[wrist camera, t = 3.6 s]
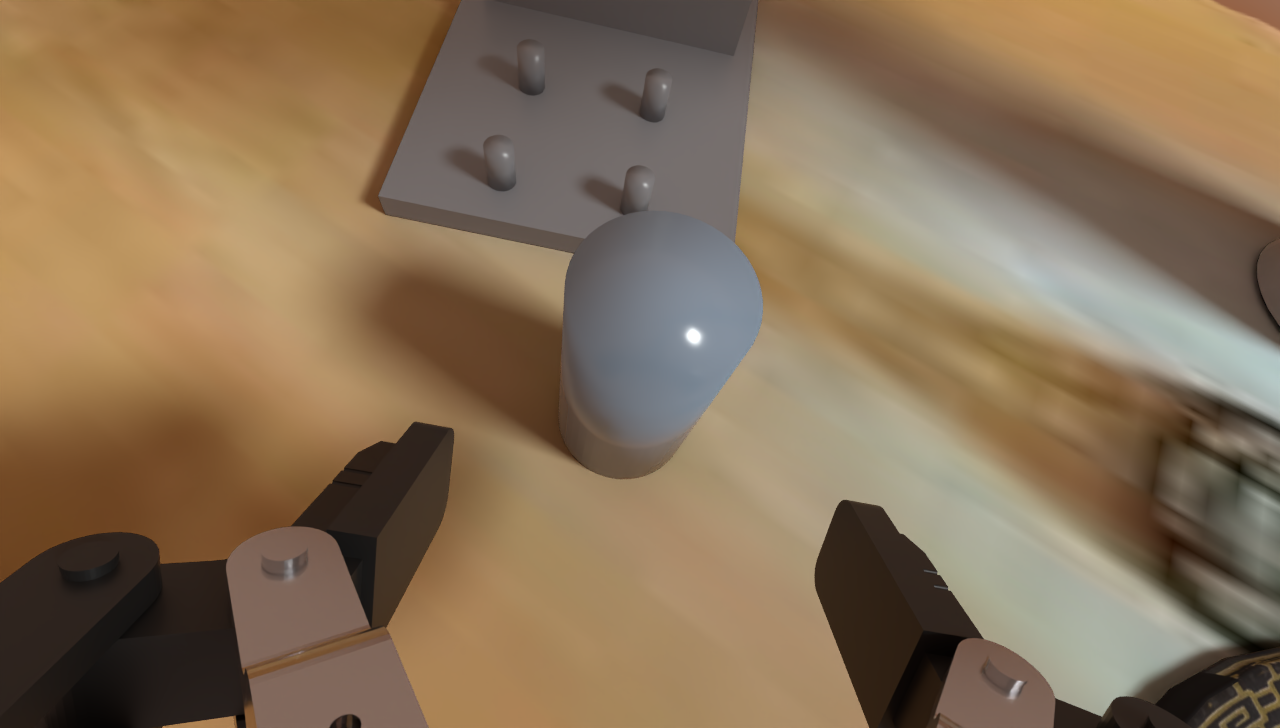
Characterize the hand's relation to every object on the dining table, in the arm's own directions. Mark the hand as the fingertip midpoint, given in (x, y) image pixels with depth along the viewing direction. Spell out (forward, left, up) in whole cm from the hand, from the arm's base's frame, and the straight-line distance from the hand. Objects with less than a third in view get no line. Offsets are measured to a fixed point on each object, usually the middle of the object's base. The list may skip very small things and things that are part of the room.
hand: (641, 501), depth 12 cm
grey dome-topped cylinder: (0, -5, -10) cm, 11 cm away
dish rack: (+4, -24, -10) cm, 27 cm away
